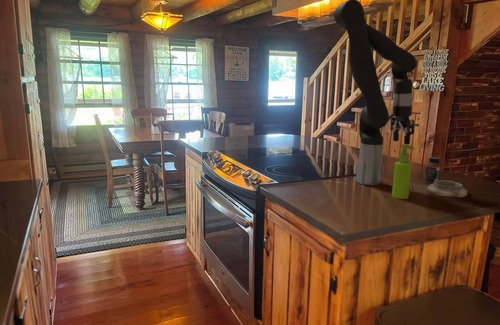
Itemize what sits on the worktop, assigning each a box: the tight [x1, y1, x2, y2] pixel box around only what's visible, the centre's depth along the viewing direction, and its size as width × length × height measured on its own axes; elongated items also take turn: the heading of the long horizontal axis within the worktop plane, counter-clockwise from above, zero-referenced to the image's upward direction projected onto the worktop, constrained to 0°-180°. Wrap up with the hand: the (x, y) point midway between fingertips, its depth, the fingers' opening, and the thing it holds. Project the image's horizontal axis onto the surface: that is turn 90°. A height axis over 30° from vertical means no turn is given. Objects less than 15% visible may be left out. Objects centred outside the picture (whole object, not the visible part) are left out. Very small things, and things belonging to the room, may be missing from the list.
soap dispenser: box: [391, 144, 415, 200], centre depth 138 cm, size 6×7×20 cm
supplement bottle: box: [423, 156, 442, 185], centre depth 159 cm, size 6×6×11 cm
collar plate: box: [427, 179, 469, 198], centre depth 147 cm, size 14×14×4 cm
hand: (401, 142), depth 159 cm, fingers open, 8 cm apart
